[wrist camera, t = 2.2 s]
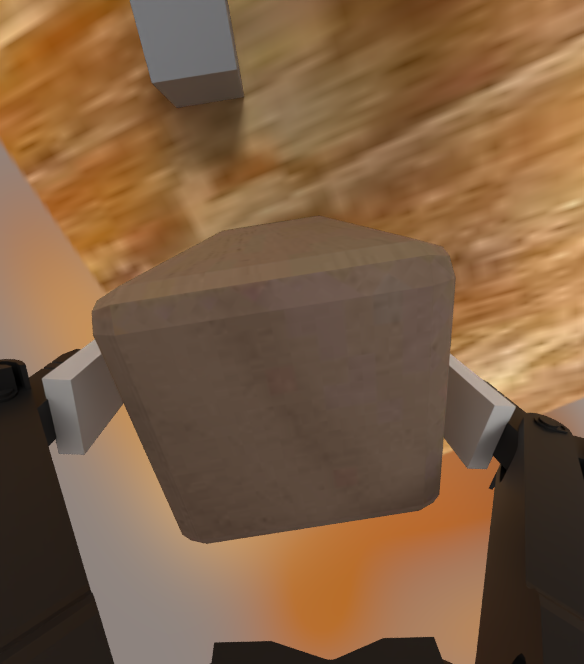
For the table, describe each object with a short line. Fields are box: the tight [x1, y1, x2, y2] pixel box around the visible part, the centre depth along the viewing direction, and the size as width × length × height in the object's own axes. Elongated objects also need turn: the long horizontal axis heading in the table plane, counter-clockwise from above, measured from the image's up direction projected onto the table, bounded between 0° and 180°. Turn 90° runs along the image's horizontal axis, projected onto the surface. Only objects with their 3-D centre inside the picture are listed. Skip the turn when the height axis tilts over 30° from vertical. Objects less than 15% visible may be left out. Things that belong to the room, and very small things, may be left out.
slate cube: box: [130, 0, 244, 108], centre depth 19 cm, size 5×5×5 cm
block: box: [92, 216, 456, 544], centre depth 18 cm, size 10×10×20 cm
